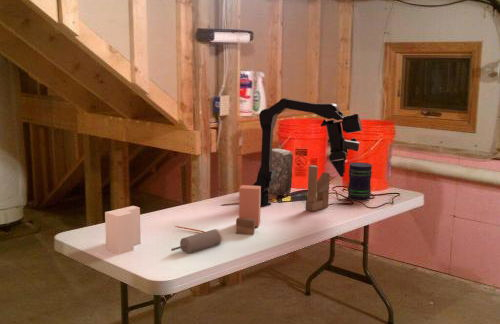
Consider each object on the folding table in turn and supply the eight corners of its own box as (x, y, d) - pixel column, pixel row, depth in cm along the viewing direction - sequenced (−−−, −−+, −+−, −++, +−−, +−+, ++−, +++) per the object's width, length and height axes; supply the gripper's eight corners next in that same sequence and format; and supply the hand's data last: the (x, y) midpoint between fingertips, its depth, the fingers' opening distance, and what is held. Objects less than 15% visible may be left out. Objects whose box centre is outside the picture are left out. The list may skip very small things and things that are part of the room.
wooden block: (328, 207, 221) (330, 164, 218) (312, 212, 214) (313, 167, 210) (321, 205, 224) (323, 162, 220) (305, 210, 216) (306, 166, 213)
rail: (245, 217, 204) (245, 205, 203) (260, 218, 203) (261, 205, 202) (236, 233, 185) (236, 219, 184) (253, 234, 184) (253, 220, 183)
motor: (231, 242, 176) (230, 226, 176) (178, 258, 160) (176, 242, 160) (186, 237, 192) (185, 223, 192) (134, 251, 177) (132, 236, 176)
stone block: (263, 192, 245) (264, 148, 242) (274, 190, 250) (275, 147, 246) (283, 197, 235) (284, 152, 232) (294, 195, 240) (296, 151, 236)
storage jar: (347, 200, 233) (349, 166, 231) (347, 194, 243) (348, 162, 240) (371, 201, 232) (373, 167, 229) (369, 195, 241) (371, 162, 239)
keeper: (241, 221, 198) (241, 185, 196) (260, 222, 197) (260, 186, 195) (238, 225, 193) (239, 188, 191) (258, 226, 192) (259, 189, 190)
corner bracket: (119, 254, 163) (118, 216, 161) (97, 246, 170) (96, 209, 168) (147, 246, 171) (146, 209, 169) (125, 238, 178) (124, 203, 176)
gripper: (355, 134, 198) (363, 175, 200) (356, 129, 216) (363, 167, 218) (325, 139, 201) (333, 180, 202) (329, 134, 219) (336, 172, 220)
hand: (342, 174), depth 211 cm, fingers open, 9 cm apart
